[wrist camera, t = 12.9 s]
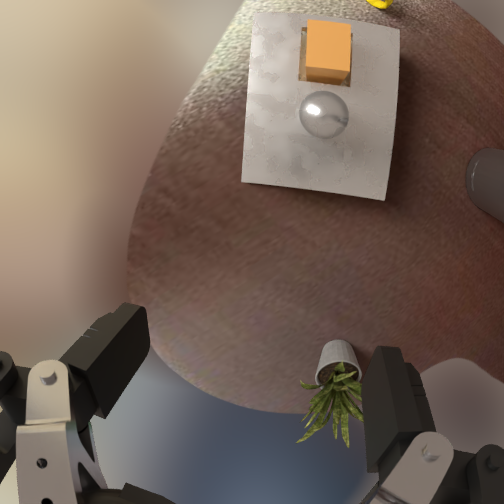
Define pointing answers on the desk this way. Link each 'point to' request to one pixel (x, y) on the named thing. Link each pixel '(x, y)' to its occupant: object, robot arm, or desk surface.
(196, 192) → the desk surface
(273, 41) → the two-tier square platform
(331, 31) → the orange rectangular prism
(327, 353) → the house plant
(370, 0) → the watch
